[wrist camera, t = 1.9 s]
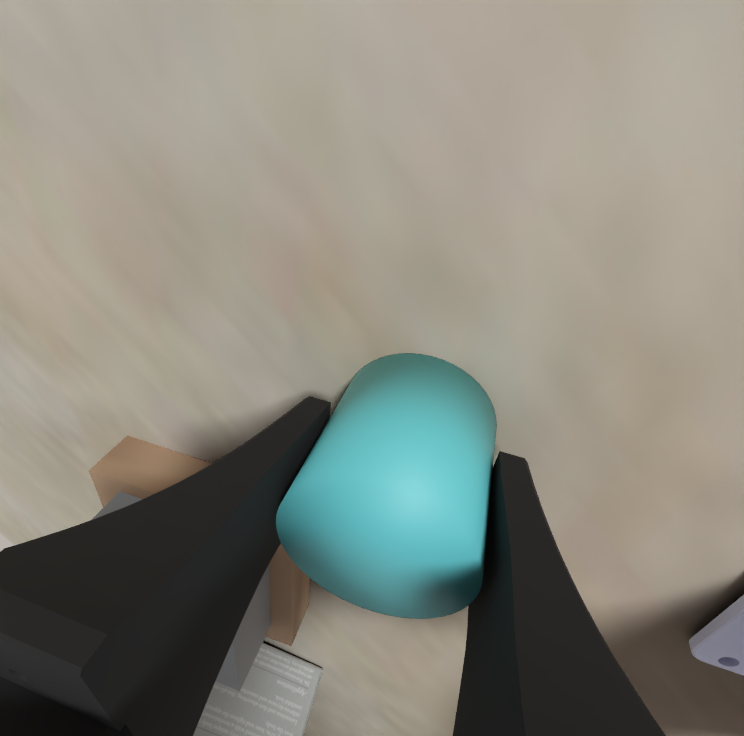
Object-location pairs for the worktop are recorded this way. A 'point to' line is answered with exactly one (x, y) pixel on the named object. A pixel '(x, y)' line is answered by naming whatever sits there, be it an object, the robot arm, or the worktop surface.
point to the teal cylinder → (397, 490)
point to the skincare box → (263, 699)
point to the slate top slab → (249, 629)
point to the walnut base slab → (167, 467)
